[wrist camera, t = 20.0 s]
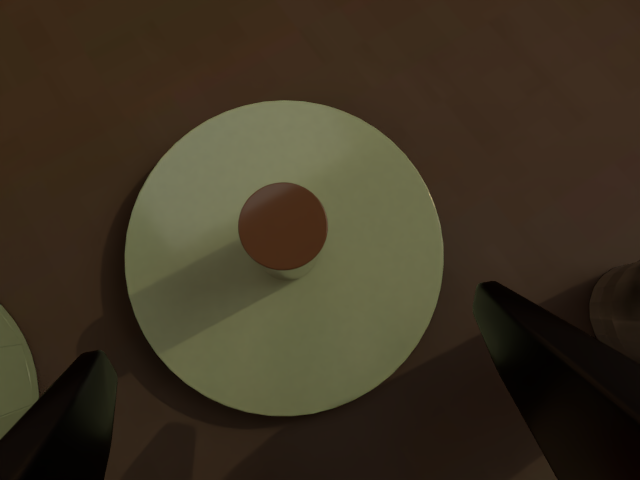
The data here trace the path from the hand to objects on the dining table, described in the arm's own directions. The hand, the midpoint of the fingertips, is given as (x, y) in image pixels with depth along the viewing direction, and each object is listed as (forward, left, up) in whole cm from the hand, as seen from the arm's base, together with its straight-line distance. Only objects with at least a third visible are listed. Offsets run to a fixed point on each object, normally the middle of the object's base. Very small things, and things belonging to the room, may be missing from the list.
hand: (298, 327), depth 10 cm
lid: (0, -3, -7) cm, 8 cm away
